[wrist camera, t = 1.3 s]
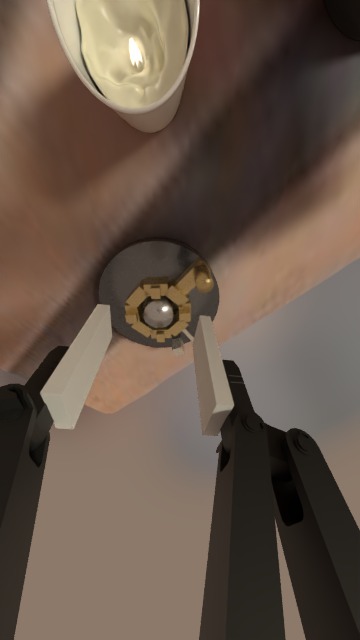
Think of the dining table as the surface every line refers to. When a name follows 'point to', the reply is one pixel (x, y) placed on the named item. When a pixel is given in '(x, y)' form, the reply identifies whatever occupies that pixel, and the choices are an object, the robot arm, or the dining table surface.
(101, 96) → the candle holder
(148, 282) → the brass lugged wrench
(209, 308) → the bearing cap
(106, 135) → the dining table surface
